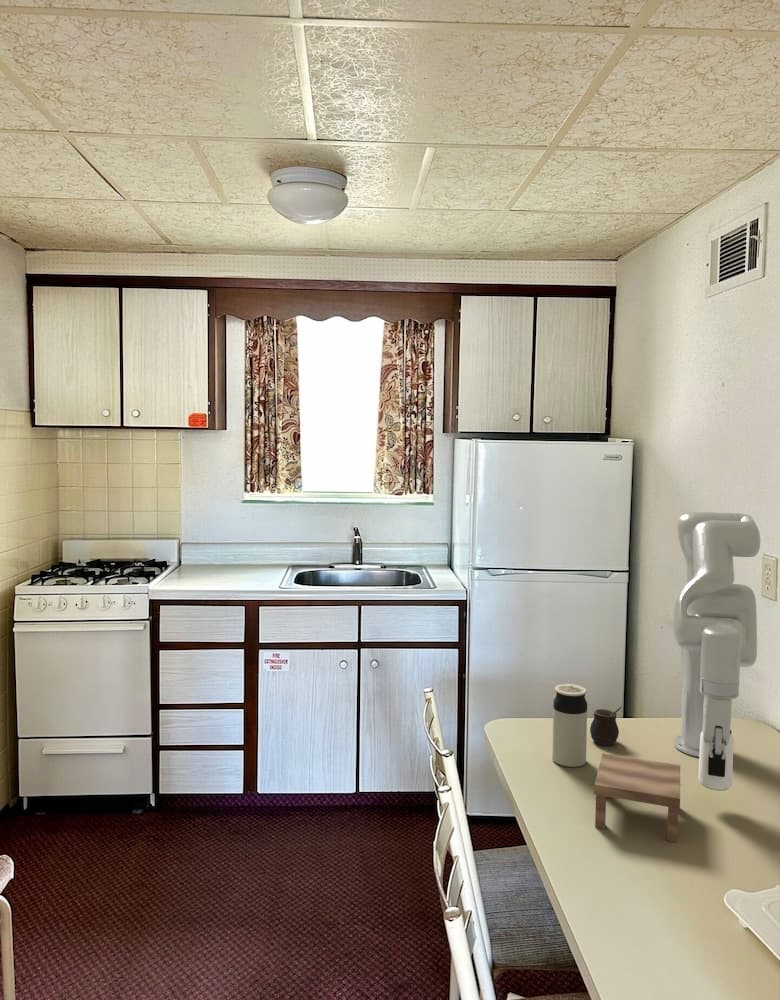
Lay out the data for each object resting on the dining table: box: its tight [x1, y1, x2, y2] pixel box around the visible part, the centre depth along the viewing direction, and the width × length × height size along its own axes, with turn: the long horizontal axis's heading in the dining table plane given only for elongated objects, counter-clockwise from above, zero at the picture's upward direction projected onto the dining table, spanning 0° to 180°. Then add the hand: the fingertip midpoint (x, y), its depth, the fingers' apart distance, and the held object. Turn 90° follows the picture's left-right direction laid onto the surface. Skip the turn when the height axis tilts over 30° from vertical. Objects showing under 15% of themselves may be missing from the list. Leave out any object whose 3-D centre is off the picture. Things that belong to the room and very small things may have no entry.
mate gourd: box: [589, 706, 622, 746], centre depth 191 cm, size 7×8×10 cm
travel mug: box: [551, 683, 588, 768], centre depth 179 cm, size 8×8×18 cm
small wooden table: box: [593, 753, 681, 843], centre depth 153 cm, size 16×16×9 cm
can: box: [698, 729, 735, 792], centre depth 156 cm, size 6×6×12 cm
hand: (715, 767), depth 156 cm, fingers closed on can, 6 cm apart
